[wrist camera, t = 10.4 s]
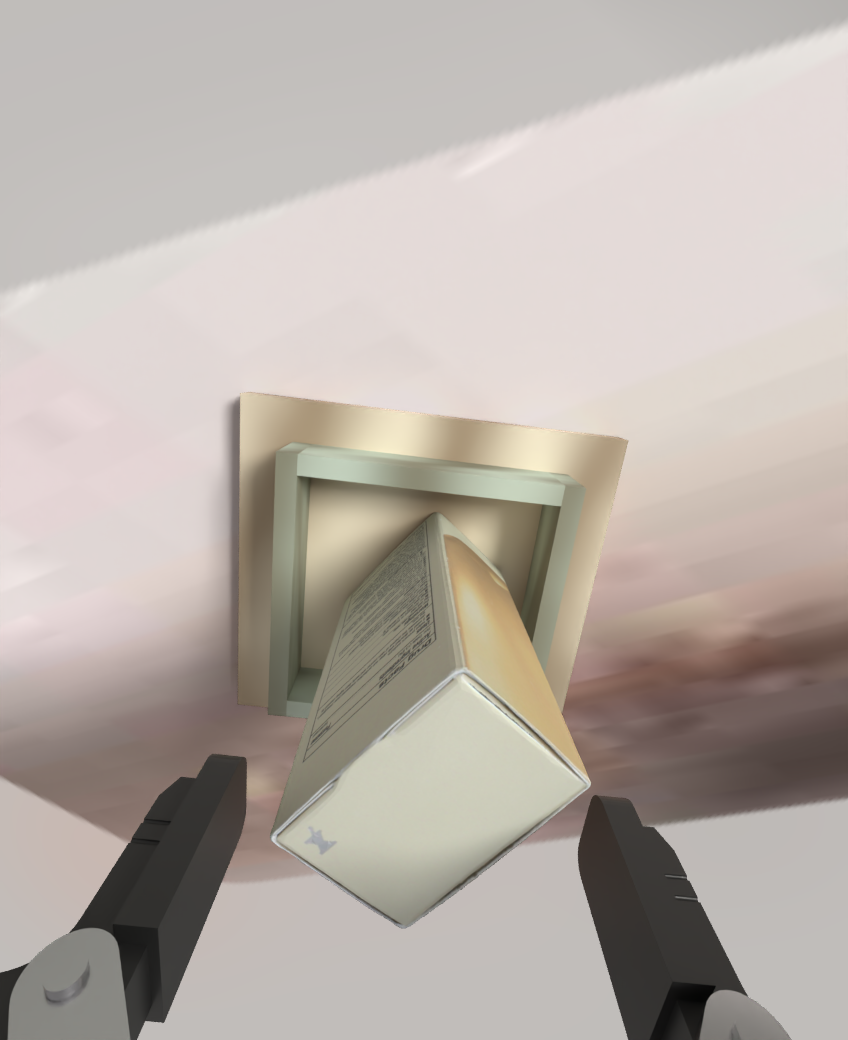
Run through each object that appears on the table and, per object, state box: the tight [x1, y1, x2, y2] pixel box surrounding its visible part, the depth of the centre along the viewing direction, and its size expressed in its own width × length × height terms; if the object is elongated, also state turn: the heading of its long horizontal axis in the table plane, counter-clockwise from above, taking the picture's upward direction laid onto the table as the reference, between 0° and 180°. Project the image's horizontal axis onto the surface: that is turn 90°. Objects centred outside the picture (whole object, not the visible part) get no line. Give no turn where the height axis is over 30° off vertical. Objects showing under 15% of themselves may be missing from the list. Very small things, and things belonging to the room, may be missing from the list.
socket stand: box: [238, 392, 628, 718], centre depth 22 cm, size 16×15×4 cm
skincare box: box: [270, 512, 591, 928], centre depth 16 cm, size 6×4×12 cm
